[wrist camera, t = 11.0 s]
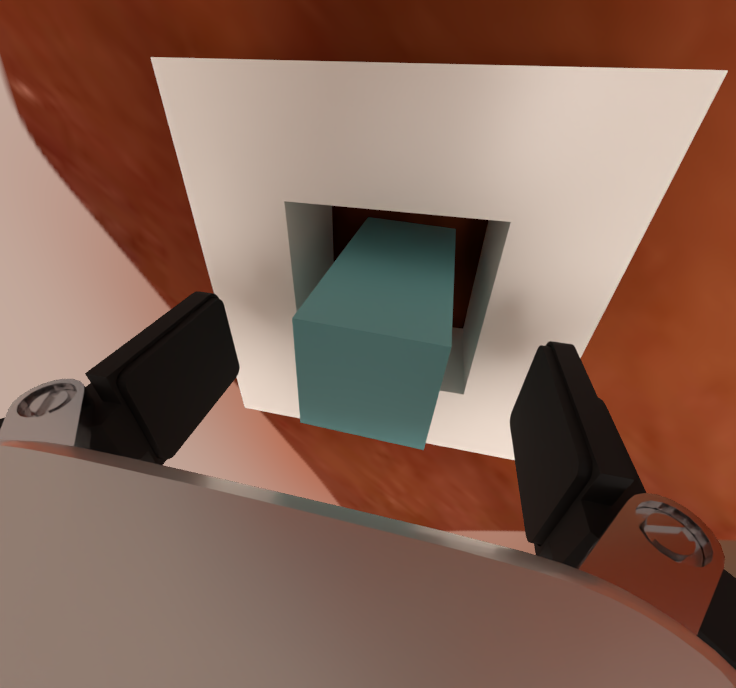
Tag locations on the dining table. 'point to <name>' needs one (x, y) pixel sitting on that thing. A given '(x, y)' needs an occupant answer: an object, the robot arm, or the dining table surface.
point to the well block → (428, 198)
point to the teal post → (378, 333)
